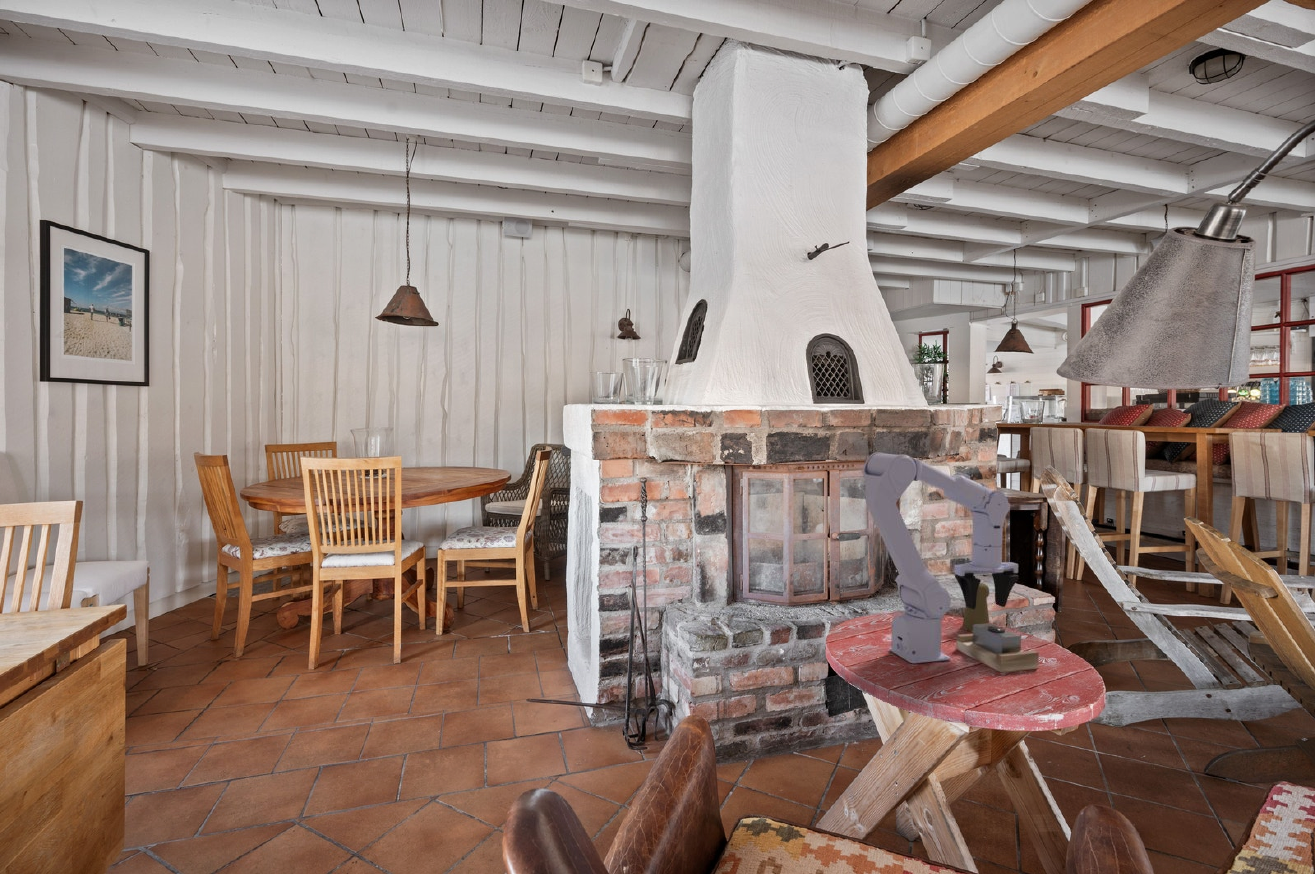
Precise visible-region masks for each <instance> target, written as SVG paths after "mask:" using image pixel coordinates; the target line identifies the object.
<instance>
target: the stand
mask: <svg viewBox="0 0 1315 874" xmlns="http://www.w3.org/2000/svg"><path fill="white" fill-rule="evenodd" d="M956 650H957V651H958V652H961V653H963V654H964V655H967V656H969V657H971V658H972V659H974V660H976V661H977V662H980V663H982V664H985V665H986V666H988V667H990V668H992V669H994V670H996V671H998V672H1000V673H1004V672H1005V673H1006V672H1015V671H1024V670H1025V671H1027V670H1035V669H1039V657H1040V655H1039V654H1040V653H1039V652H1038V651H1036V650H1034V649H1033V650H1025V651H1023V650H1021V652H1012V653H1001V654H997V655H996V654H994V653H992V652H990V651H988V650H986V649H984V648H982V647H980V646H978V645H975V644H973V633H963V634H962V633H961V634H956Z"/></svg>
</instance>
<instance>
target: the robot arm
mask: <svg viewBox="0 0 1315 874" xmlns="http://www.w3.org/2000/svg"><path fill="white" fill-rule="evenodd" d="M861 474H862V476H863V478H864V479H865V480H864V481H865V482H864V484H865V485H864V487H865V505H866V508H867V509H868V511H869V513H870V515H871V518H872V520H873V521H874V523H875V526H876V528H877V530H878V532H879V534H880V536H881V539H882V540H883V543H884V545H885V547H886V549H887V552H888V554H889V555H890V558H891V560H892V561H893V564H894V566H895V568H896V570H897V573H898V575H897V576H896V577H895V582H896V584H897V594H898V599H899V600H900V601H901V602H902V604H903V609H904V611H903V613H901V614H898V615H895V616H893V618H892V621H891V641H890V642H891V643H890V644H891V645H890V647H889V648H888V650H889V651H890V652H892V653H894V654H895V655H897V656H899V657H901V658H902V659H904V660H905V661H907V662H908V663H911V664H921V663H931V662H941V661H950V660H951V657H950V656H949V655H946V654H945V653H944V652H942V624H943V620H942V619H944V618H945V615H946V614H947V612H949V609H950V607H951V601H952V600H951V596H950V593H949V592H948V591H947V589H945V588H944V587H943V586H942V585H941V584H940V582H939V580H938V579H937V578H936V576H934V575H933V574H932V573H931V572H930V571H929V570H928V569H927V568H926V566H925V564H924V561H923V559H922V557H921V554H920V553H919V551H918V549H917V546H916V544H915V542H914V540H913V537H912V536H911V533H910V531H909V529H908V527H907V525H906V522H905V520H904V518H903V516H902V514H901V512H900V510H899V507H898V505H897V502H898V500H900V498H901V497H902V496H903V494H904V493H905V491H907V489H908V488H909V487H910V485H911V484H912V483H913V482H914V481H915V482H918V481H921V482H923V483H925V484H927V485H929V486H933V487H934V488H938V489H940V490H942V491H943V494H944V497H945V498H947V499H948V500H950V501H952V502H954V503H956V504H958V505H959V506H963V507H965V508H967V509H968V511H969V512H970V513H972V540H971V541H972V542H971V547H972V548H971V562H965V563H962V564H954V578H955V580H956V581H957V583H958V585H959V587H960V590H961V592H962V595H963V599H964V603H965V608H966V607H968V608H971V609H975V607H976V598H977V590H978V587H979V584H980V583H981V579H980V578H977V577H976V576H975V575H984V574H985V575H987V574H991V576H992V579H993V584H994V585H993V586H994V602H995V605H996V606H999V607H1002V608H1006V605H1007V602H1008V599H1009V596H1010V594H1011V591H1012V589H1013V588H1014V586H1015V585H1016V583H1017V582H1018V581H1019V575H1018V573H1019V564H1018V563H1016V562H1012V561H1011V562H1010V561H1009V562H1008V561H1006V562H1005V561H1004V562H1002V561H1003V529H1004V523H1005V522H1006V516H1007V514H1008V513H1009V511H1010V508H1011V503H1009V500H1008V497H1006V495H1005V493H1004V492H1002V491H1000V490H996V489H990V488H989V487H988V484H986V483H984V482H983V483H982V482H977V481H975V480H972V479H971V476H970V475H969V474H966V473H961V474H954V475H952V476H951V475H949V474H946V473H944V472H943V471H941V470H939V469H937V468H935V467H934V466H931V465H930V464H928V463H926V462H924V461H922V460H920V459H918V458H914V457H911V456H909V455H908V454H891V453H885V452H880V451H879V452H873V453H872V454H870V455H869V456H868V457H867V459H866V460H865V462H864V466H863V467H862V470H861Z"/></svg>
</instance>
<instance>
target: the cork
mask: <svg viewBox="0 0 1315 874" xmlns="http://www.w3.org/2000/svg"><path fill="white" fill-rule="evenodd" d="M989 595H990V588H989V586H988V585H987V584H986V583H983V582H980V584H979V587H978V590H977V598H976V607H975V609H971V608H968V607H966V606H965V608H964V609H965V610H964V614H963V621H962V626H961V627H962V629H964V630H966V631H970V632H973V625H976V624H988V623H990V616H989V609H988V599H987V598H988V597H989Z"/></svg>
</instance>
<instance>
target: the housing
mask: <svg viewBox="0 0 1315 874" xmlns="http://www.w3.org/2000/svg"><path fill="white" fill-rule="evenodd" d="M972 634H973V644H975V645H978V646H980V647H982V648H984V649H986V650H988V651H990V652H992V653H994V654H996V655H997V654H1001V653H1012V652H1021V651H1022V636H1021V635H1020V634H1018V633H1016V632H1013V631H1011V630H1009V629H1006V628H1004V627H1001V626H999V625H996V624H994V623H992V622H991V623H990V622H989V623H988V624H976V625H973V631H972Z"/></svg>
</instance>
